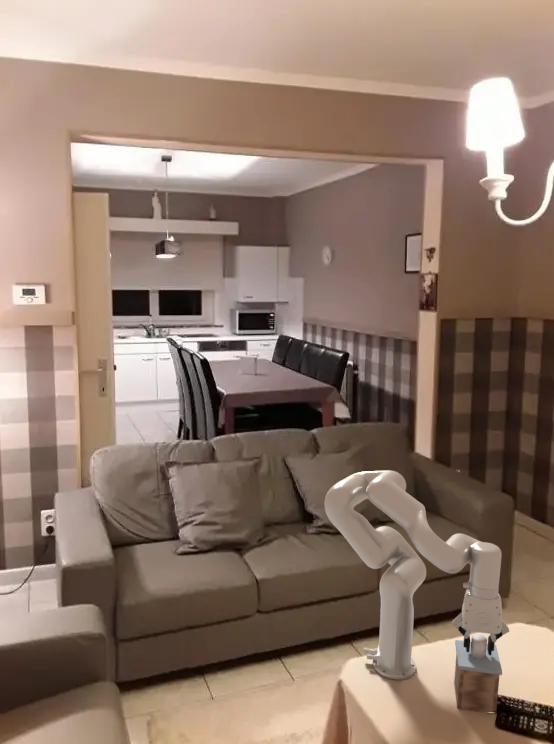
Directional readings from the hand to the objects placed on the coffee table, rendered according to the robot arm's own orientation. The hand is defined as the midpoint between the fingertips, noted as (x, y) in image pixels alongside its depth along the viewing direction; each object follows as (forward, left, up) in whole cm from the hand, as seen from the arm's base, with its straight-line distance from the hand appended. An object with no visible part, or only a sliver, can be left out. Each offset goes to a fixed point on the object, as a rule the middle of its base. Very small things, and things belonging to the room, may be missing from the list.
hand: (478, 650), depth 174 cm
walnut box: (0, 0, -14) cm, 14 cm away
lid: (0, 0, -2) cm, 2 cm away
